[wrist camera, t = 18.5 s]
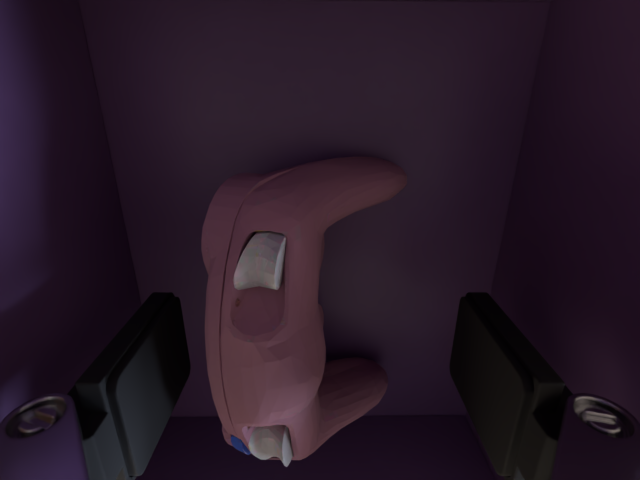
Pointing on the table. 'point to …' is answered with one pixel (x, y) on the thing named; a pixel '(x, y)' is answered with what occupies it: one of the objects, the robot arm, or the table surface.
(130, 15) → the box
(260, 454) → the video game controller
